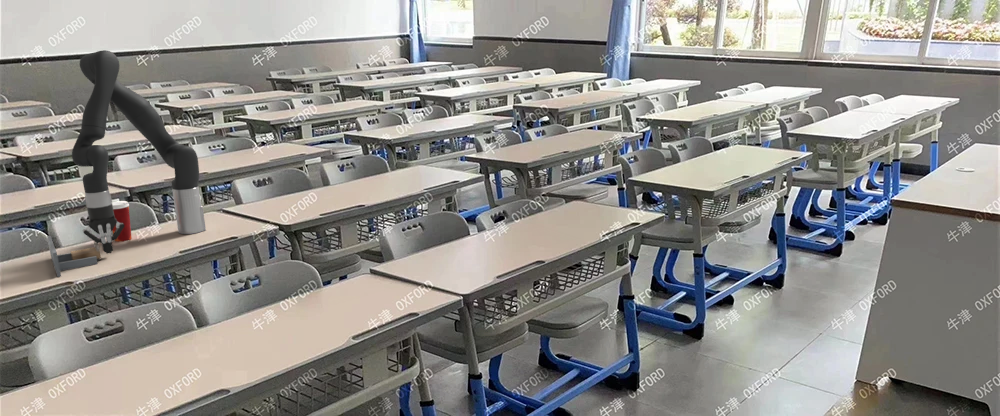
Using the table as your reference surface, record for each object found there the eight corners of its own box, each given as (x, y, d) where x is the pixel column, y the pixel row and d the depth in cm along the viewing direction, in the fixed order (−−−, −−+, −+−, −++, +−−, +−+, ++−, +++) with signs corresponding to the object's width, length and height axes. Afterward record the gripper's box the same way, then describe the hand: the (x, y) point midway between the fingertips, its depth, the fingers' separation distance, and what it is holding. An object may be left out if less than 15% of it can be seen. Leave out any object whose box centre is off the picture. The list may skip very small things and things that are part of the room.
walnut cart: (99, 256, 243) (96, 241, 242) (101, 260, 239) (98, 245, 237) (72, 261, 239) (69, 245, 237) (74, 265, 234) (71, 250, 233)
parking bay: (91, 251, 249) (87, 229, 247) (100, 268, 230) (96, 245, 228) (51, 258, 243) (47, 236, 241) (57, 277, 224) (52, 253, 222)
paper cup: (139, 236, 266) (133, 200, 263) (126, 242, 259) (120, 205, 255) (119, 236, 267) (113, 200, 263) (106, 242, 260) (100, 205, 256)
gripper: (119, 198, 244) (127, 246, 248) (75, 205, 236) (85, 254, 241) (123, 202, 238) (131, 251, 243) (78, 209, 231) (88, 259, 235)
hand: (108, 252), depth 242 cm, fingers closed
